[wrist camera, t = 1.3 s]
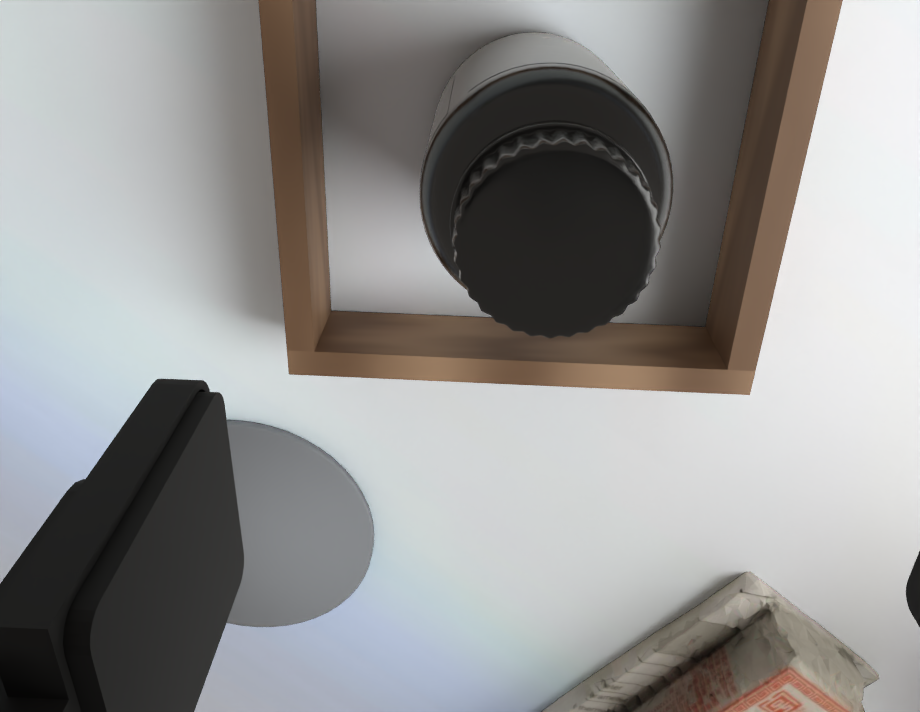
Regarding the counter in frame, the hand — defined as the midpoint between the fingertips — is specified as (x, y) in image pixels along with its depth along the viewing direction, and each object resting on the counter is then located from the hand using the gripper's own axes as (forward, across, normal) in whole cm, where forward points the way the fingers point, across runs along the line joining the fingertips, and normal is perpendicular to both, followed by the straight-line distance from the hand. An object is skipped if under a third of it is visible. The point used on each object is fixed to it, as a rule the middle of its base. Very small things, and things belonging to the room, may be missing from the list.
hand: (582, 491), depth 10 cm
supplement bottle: (+21, 0, 0) cm, 21 cm away
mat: (+21, +12, +19) cm, 31 cm away
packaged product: (+21, -10, +30) cm, 38 cm away
